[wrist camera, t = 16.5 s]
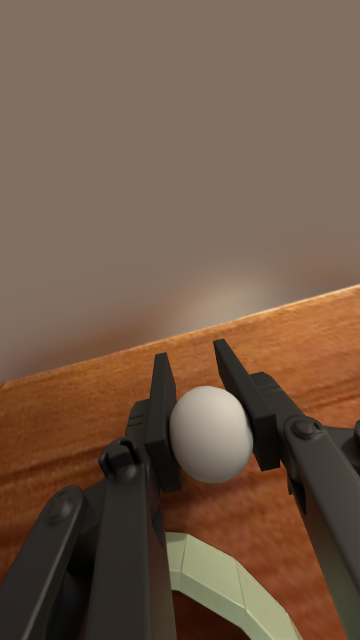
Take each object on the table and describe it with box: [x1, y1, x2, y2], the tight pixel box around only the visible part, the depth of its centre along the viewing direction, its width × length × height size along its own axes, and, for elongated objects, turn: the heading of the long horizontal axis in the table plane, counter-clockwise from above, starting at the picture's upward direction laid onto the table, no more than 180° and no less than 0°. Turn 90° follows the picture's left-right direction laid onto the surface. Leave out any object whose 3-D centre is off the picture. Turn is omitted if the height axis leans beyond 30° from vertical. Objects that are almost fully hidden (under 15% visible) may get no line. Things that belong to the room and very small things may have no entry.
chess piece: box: [169, 386, 253, 483], centre depth 10 cm, size 5×5×9 cm
